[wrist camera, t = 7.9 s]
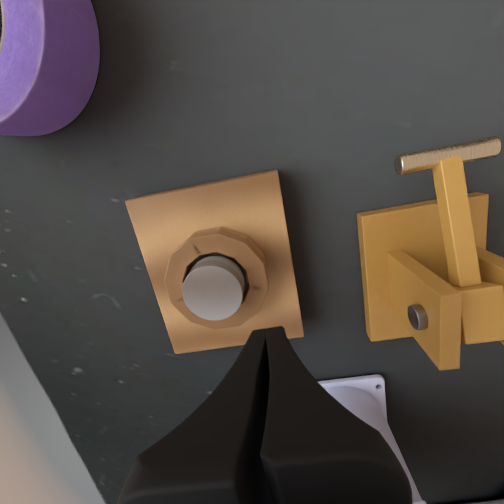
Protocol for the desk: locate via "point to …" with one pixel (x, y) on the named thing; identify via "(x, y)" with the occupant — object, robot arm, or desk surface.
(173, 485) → the robot arm
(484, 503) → the smartphone
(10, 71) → the tape roll
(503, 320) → the lever
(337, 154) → the desk surface
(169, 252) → the button housing
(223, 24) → the desk surface
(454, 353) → the bracket
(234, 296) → the button
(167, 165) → the desk surface
